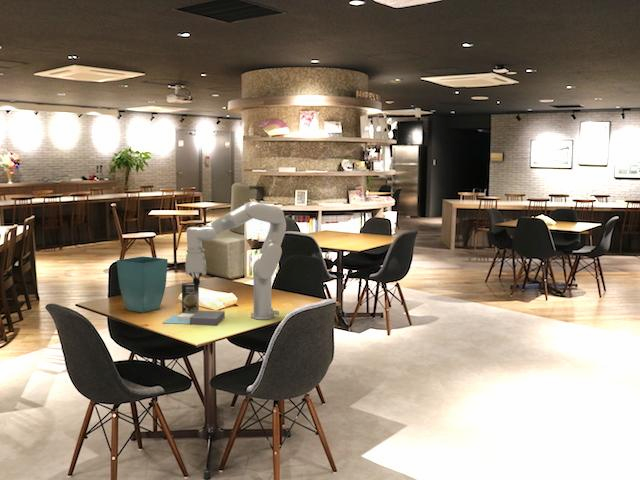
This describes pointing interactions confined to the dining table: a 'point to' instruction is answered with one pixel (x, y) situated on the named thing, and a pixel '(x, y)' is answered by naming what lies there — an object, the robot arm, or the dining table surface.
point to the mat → (175, 320)
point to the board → (207, 317)
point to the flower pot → (142, 282)
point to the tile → (184, 317)
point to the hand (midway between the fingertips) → (196, 285)
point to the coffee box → (190, 298)
